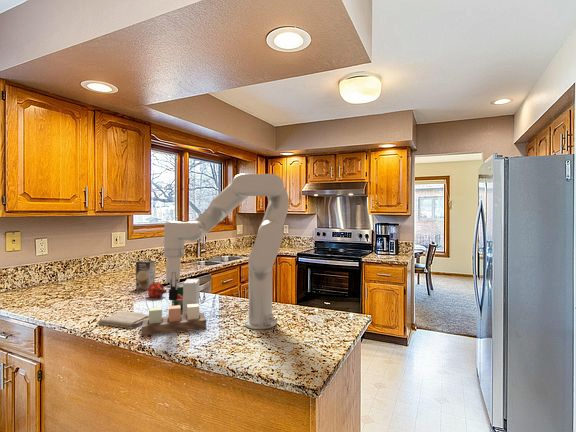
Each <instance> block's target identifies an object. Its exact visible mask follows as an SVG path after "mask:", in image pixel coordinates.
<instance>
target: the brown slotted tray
mask: <svg viewBox="0 0 576 432" xmlns="http://www.w3.org/2000/svg"><path fill="white" fill-rule="evenodd" d="M202 329H207V319H206V316H205V312H199V319H193V320H187V314H185V315H183V314H181V321H174V322H169V315H167V316H162V323H154V324H149V318H145V319H143V323H142V325H141V336H150V335H159V334H166V333H169V334H170V333H176V332H186V331H191V330H192V331H194V330H202Z"/></svg>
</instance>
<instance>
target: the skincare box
mask: <svg viewBox="0 0 576 432" xmlns="http://www.w3.org/2000/svg"><path fill="white" fill-rule="evenodd" d="M182 284H183V311H182V315H185V314H187V304H199V305H200V279H199V278H186V280H185V281H184V282H183V283H182Z"/></svg>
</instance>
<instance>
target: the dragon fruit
mask: <svg viewBox="0 0 576 432" xmlns="http://www.w3.org/2000/svg"><path fill="white" fill-rule="evenodd" d="M146 291H147V294H148V296H149V298H150V297H152V298H154V299H158V298H159V297H162V296H163V295H164V294H166V293H167V289H166V288H165V287H164V285H163V283H161V282H158V281H155V282H153V283H151V285H150V286H149V287H148V289H146Z"/></svg>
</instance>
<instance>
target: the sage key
mask: <svg viewBox="0 0 576 432" xmlns="http://www.w3.org/2000/svg"><path fill="white" fill-rule="evenodd" d="M162 308H163V307H162V306H155V307H149V308H148V315H149V324H154V323H162V317H163V316H162V315H163V311H162Z"/></svg>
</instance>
